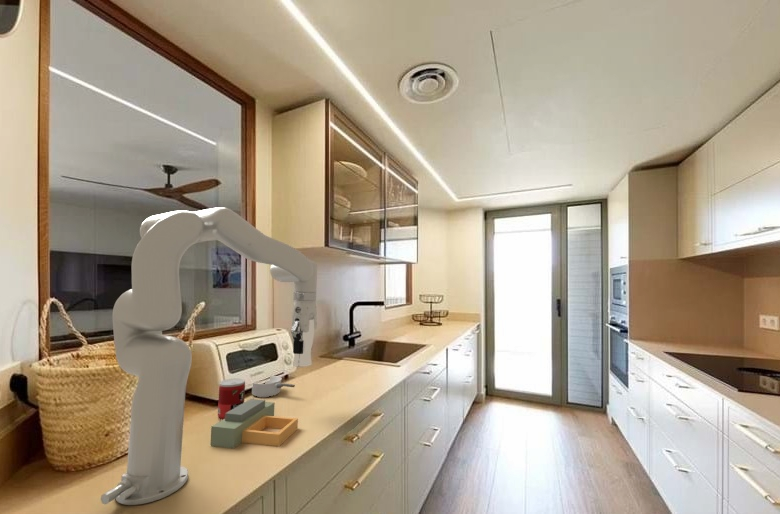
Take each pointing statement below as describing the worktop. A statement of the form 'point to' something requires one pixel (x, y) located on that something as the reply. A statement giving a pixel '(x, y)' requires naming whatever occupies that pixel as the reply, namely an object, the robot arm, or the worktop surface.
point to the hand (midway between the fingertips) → (302, 351)
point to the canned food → (230, 395)
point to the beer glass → (305, 347)
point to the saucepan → (269, 387)
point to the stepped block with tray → (252, 426)
